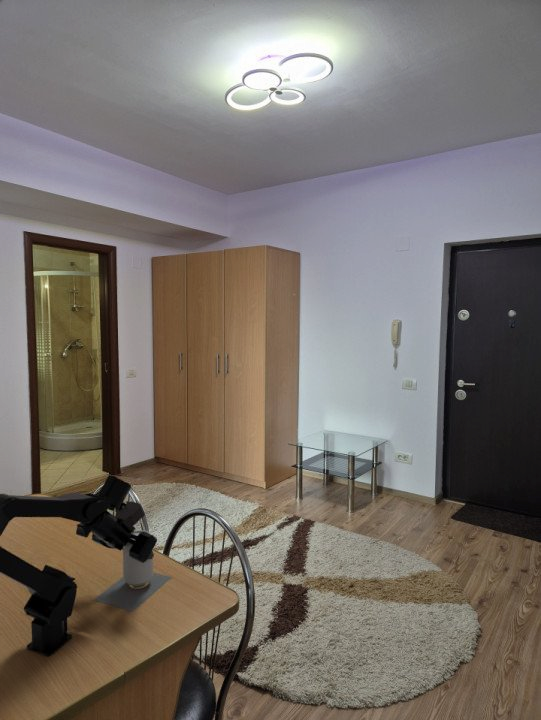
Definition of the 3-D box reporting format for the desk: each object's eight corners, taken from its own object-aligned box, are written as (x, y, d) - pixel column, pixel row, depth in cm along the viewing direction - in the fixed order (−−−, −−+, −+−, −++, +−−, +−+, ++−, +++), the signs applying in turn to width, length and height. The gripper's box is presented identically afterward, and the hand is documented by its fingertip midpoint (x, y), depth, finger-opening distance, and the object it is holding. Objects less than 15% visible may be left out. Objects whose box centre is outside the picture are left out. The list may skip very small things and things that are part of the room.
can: (150, 587, 118) (150, 541, 118) (120, 588, 118) (119, 541, 117) (155, 571, 126) (155, 528, 125) (126, 572, 125) (126, 528, 124)
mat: (133, 613, 111) (133, 611, 111) (93, 602, 115) (93, 599, 115) (172, 579, 126) (172, 577, 125) (135, 569, 130) (135, 567, 130)
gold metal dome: (141, 591, 119) (141, 589, 119) (124, 586, 121) (124, 585, 121) (153, 580, 124) (153, 579, 124) (137, 576, 125) (137, 575, 125)
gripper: (150, 504, 112) (184, 532, 122) (101, 488, 122) (135, 515, 132) (124, 549, 106) (161, 575, 116) (74, 528, 116) (112, 553, 126)
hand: (142, 552), depth 122 cm, fingers closed on can, 7 cm apart
